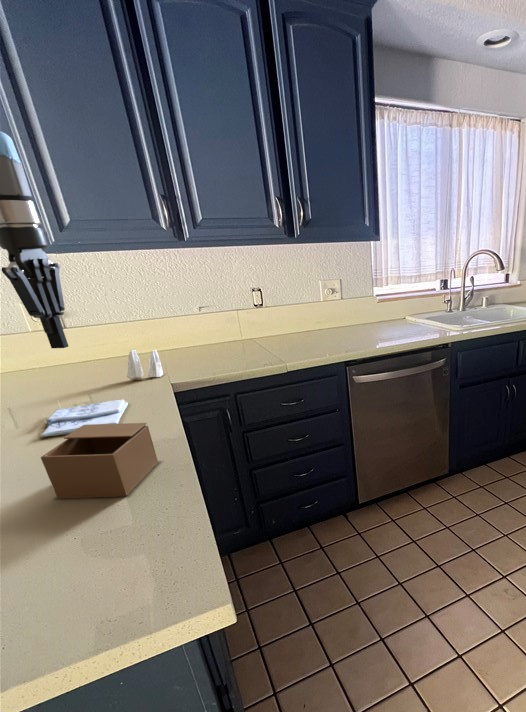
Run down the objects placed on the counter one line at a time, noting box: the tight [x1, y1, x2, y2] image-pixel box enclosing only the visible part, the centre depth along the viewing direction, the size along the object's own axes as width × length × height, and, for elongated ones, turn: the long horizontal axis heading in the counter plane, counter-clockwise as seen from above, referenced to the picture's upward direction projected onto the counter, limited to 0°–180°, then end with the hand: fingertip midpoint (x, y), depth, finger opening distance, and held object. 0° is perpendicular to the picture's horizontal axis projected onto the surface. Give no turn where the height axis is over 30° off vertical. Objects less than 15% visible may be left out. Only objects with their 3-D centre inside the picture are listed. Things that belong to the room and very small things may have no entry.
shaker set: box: [126, 349, 164, 381], centre depth 157 cm, size 12×4×11 cm, turn 123°
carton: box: [40, 425, 159, 499], centre depth 91 cm, size 14×14×10 cm
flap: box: [63, 422, 148, 440], centre depth 92 cm, size 14×7×1 cm, turn 91°
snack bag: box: [40, 399, 129, 439], centre depth 123 cm, size 19×20×2 cm
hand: (60, 347), depth 92 cm, fingers closed
